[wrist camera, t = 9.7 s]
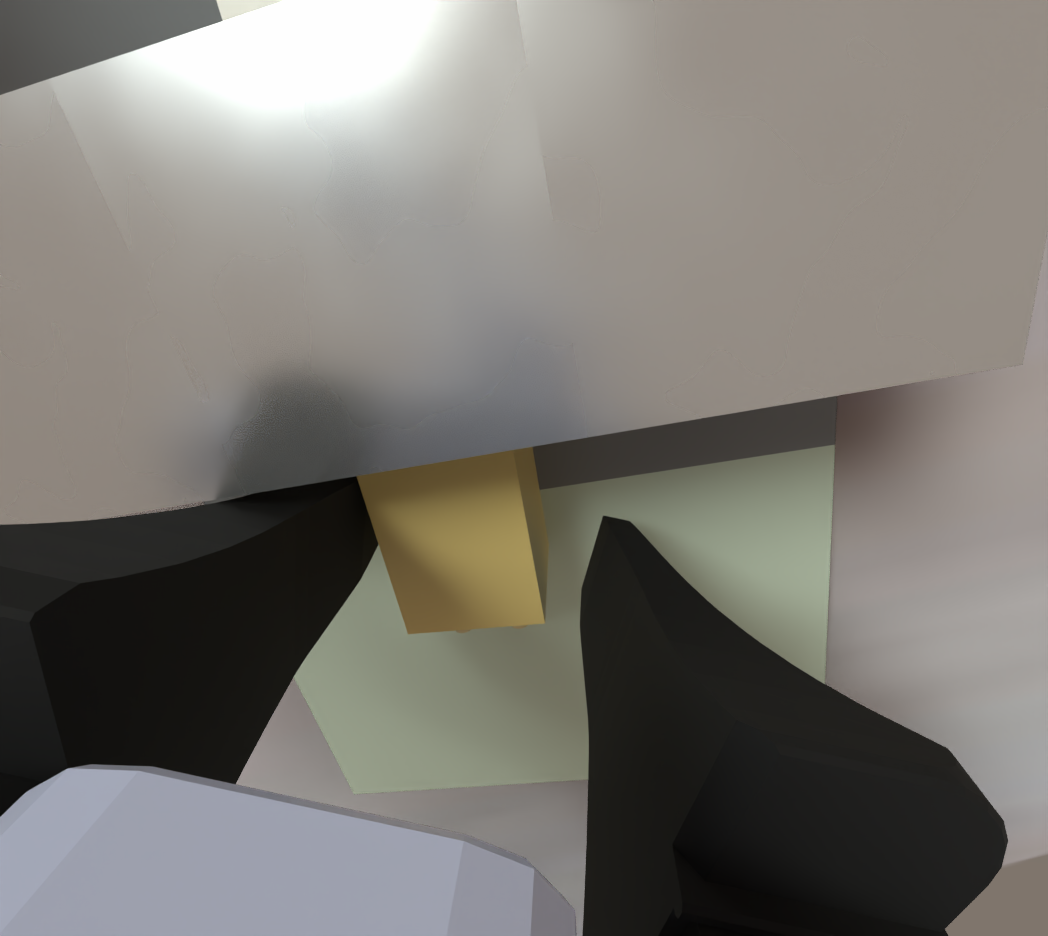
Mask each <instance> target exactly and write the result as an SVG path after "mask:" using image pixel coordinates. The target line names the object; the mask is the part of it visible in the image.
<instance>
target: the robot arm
mask: <svg viewBox="0 0 1048 936" xmlns="http://www.w3.org/2000/svg"><path fill="white" fill-rule="evenodd" d="M377 547H378V541H377V538H376V535H375V532H374V529H373V525H372V522H371V519H370V516H369V513H368V510H367V507H366V504H365V501H364V498H363V495H362V492H361V489H360V486H359V483H358V479H357V476H354V477H348V478H342V479H336V480H330V481H324V482H318V483H313V484H307V485H301V486H295V487H289V488H283V489H277V490H271V491H265V492H259V493H254V494H250V495H247V496H243V497H239V498H235V499H231V500H226V501H221V502H217V503H212V504H207V505H201V506H196V507H191V508H185V509H179V510H173V511H165V512H157V513H150V514H142V515H134V516H126V517H118V518H109V519H97V520H85V521H72V522H54V523H36V524H6V525H0V936H576V916H575V910H574V909H573V907H572V906H571V905H570V904H569V903H568V902H567V900H566V899H565V898H564V897H563V896H562V895H561V894H560V893H559V892H558V891H557V890H556V889H555V888H554V887H553V886H552V884H551V883H550V882H549V881H548V880H547V879H546V878H545V877H544V876H543V875H542V874H541V873H540V872H539V871H538V870H537V869H536V868H535V867H534V866H533V865H532V864H531V863H530V862H529V861H528V860H527V859H526V858H524V857H521V856H519V855H516V854H514V853H511V852H509V851H506V850H504V849H501V848H499V847H496V846H494V845H491V844H489V843H486V842H484V841H481V840H479V839H476V838H474V837H471V836H468V835H466V834H462V833H458V832H453V831H449V830H444V829H439V828H435V827H430V826H425V825H421V824H416V823H412V822H407V821H402V820H398V819H393V818H388V817H384V816H379V815H375V814H370V813H365V812H361V811H356V810H351V809H347V808H342V807H337V806H333V805H328V804H324V803H319V802H314V801H310V800H305V799H300V798H296V797H291V796H287V795H282V794H277V793H273V792H268V791H263V790H259V789H254V788H250V787H245V786H240V785H236V782H237V780H238V778H239V776H240V774H241V772H242V770H243V769H244V767H245V765H246V763H247V761H248V759H249V757H250V755H251V754H252V752H253V750H254V748H255V746H256V744H257V742H258V740H259V739H260V737H261V735H262V733H263V731H264V729H265V727H266V725H267V724H268V722H269V720H270V718H271V716H272V714H273V713H274V711H275V709H276V707H277V706H278V704H279V702H280V700H281V698H282V697H283V695H284V693H285V691H286V690H287V688H288V686H289V684H290V682H291V681H292V679H293V677H294V675H295V674H296V672H297V671H298V669H299V668H300V666H301V664H302V663H303V661H304V660H305V658H306V657H307V655H308V654H309V652H310V651H311V650H312V648H313V647H314V645H315V644H316V643H317V641H318V640H319V638H320V637H321V636H322V634H323V633H324V631H325V630H326V629H327V627H328V626H329V624H330V623H331V621H332V620H333V619H334V617H335V616H336V614H337V613H338V612H339V610H340V609H341V607H342V606H343V605H344V603H345V602H346V600H347V599H348V597H349V596H350V594H351V593H352V592H353V590H354V589H355V587H356V586H357V584H358V583H359V581H360V580H361V578H362V576H363V574H364V572H365V571H366V569H367V567H368V565H369V563H370V561H371V559H372V557H373V555H374V553H375V551H376V549H377ZM580 636H581V648H582V660H583V671H584V681H585V692H586V703H587V714H588V733H589V763H588V814H587V849H586V874H585V898H584V920H583V936H948V934H947V933H946V931H945V928H946V927H947V926H948V925H949V924H950V923H951V922H952V921H953V920H954V919H955V918H956V917H957V916H958V915H959V914H960V913H961V912H962V911H963V910H964V909H965V908H966V907H967V906H968V905H969V904H970V903H971V902H972V901H973V900H974V899H975V898H976V897H977V896H978V895H979V894H980V893H981V892H982V891H983V890H984V889H985V888H986V887H987V886H988V885H989V883H990V882H991V881H992V879H993V878H994V877H995V875H996V874H997V873H998V871H999V870H1000V869H1001V867H1002V863H1003V859H1004V855H1005V851H1006V847H1007V843H1008V838H1007V834H1006V829H1005V825H1004V821H1003V819H1002V818H1001V817H1000V815H999V814H998V813H997V811H996V810H995V809H994V808H993V806H992V805H991V804H990V802H989V801H988V800H987V798H986V797H985V796H984V795H983V793H982V792H981V791H980V789H979V788H978V787H977V785H976V784H975V783H974V782H973V780H972V779H971V778H970V776H969V775H968V774H967V772H966V771H965V770H964V768H963V767H962V766H961V765H960V763H959V762H958V761H957V759H956V758H955V757H954V755H953V754H952V753H951V752H950V751H949V750H948V749H947V748H946V747H944V746H942V745H940V744H938V743H936V742H934V741H932V740H930V739H928V738H926V737H924V736H922V735H920V734H918V733H916V732H914V731H912V730H910V729H908V728H906V727H904V726H902V725H900V724H898V723H896V722H894V721H892V720H890V719H888V718H886V717H884V716H882V715H880V714H878V713H876V712H874V711H872V710H870V709H868V708H866V707H864V706H862V705H860V704H859V703H857V702H855V701H853V700H852V699H850V698H848V697H846V696H845V695H843V694H841V693H839V692H838V691H836V690H834V689H832V688H831V687H829V686H827V685H825V684H824V683H822V682H820V681H819V680H817V679H815V678H814V677H812V676H810V675H809V674H807V673H806V672H804V671H802V670H801V669H799V668H797V667H796V666H794V665H793V664H791V663H790V662H788V661H787V660H785V659H784V658H782V657H781V656H779V655H778V654H776V653H775V652H774V651H772V650H771V649H769V648H768V647H766V646H765V645H763V644H762V643H760V642H759V641H758V640H756V639H755V638H753V637H752V636H751V635H749V634H748V633H747V632H745V631H744V630H743V629H741V628H740V627H739V626H738V625H736V624H735V623H734V622H733V621H731V620H730V619H729V618H728V617H726V616H725V615H724V614H723V613H721V612H720V611H719V610H718V609H717V608H715V607H714V606H713V605H712V604H711V603H710V602H709V601H707V600H706V599H705V598H704V597H703V596H702V595H701V594H700V593H699V592H698V591H697V590H696V589H695V588H694V587H692V586H691V585H690V584H689V583H688V582H687V581H686V580H685V579H684V578H683V577H682V576H681V575H680V574H679V573H678V572H677V571H676V570H675V569H674V568H673V567H672V566H671V565H670V563H669V562H668V561H667V560H666V559H665V558H664V557H663V556H662V555H661V554H660V553H659V552H658V551H657V549H656V548H655V547H654V546H653V545H652V544H651V543H650V542H649V541H648V539H647V538H646V537H645V536H644V535H643V534H642V533H641V532H640V531H639V530H638V529H637V527H636V526H635V525H634V524H632V523H631V522H630V521H627V520H623V519H618V518H613V517H609V516H604V515H603V517H602V521H601V524H600V527H599V531H598V534H597V538H596V541H595V544H594V548H593V551H592V555H591V558H590V561H589V565H588V568H587V572H586V575H585V578H584V582H583V585H582V589H581V607H580Z"/></svg>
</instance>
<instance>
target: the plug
mask: <svg viewBox="0 0 1048 936" xmlns="http://www.w3.org/2000/svg"><path fill="white" fill-rule="evenodd" d="M216 1H217V4H218V8H219V11H220V14H221V17H222V20H223V21H225V20H228V19H231V18H234V17H237V16H240V15H243V14H246V13H249V12H252V11H255V10H258V9H261V8H265V7H268V6H271V5H274V4H277V3H280V2H283V1H286V0H216ZM357 479H358V483H359V486H360V489H361V492H362V495H363V498H364V501H365V504H366V507H367V510H368V513H369V516H370V519H371V522H372V525H373V529H374V532H375V535H376V538H377V541H378V544H379V547H380V550H381V553H382V556H383V559H384V562H385V565H386V568H387V571H388V574H389V578H390V581H391V584H392V587H393V590H394V593H395V596H396V599H397V602H398V605H399V608H400V611H401V614H402V617H403V620H404V624H405V627H406V630H407V633H408V634H419V633H431V632H444V631H456V632H458V633H466V632H468V631H470V630H471V629H482V628H495V627H508V626H512V627H513V628H516V629H521V628H524V627H526V626H528V625H533V624H545V615H546V594H547V574H548V554H549V543H548V537H547V531H546V525H545V519H544V513H543V507H542V501H541V495H540V489H539V483H538V477H537V471H536V465H535V459H534V454H533V448H532V447H528V448H522V449H516V450H510V451H504V452H498V453H492V454H486V455H480V456H474V457H468V458H462V459H456V460H450V461H444V462H438V463H432V464H426V465H420V466H414V467H408V468H402V469H396V470H390V471H384V472H378V473H372V474H366V475H360V476H357Z"/></svg>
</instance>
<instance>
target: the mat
mask: <svg viewBox="0 0 1048 936" xmlns="http://www.w3.org/2000/svg"><path fill="white" fill-rule="evenodd" d="M222 21H223V20H222V17H221V14H220V11H219V8H218V4H217V1H216V0H0V95H2V94H5V93H8V92H11V91H14V90H17V89H20V88H23V87H26V86H29V85H32V84H35V83H38V82H41V81H44V80H47V79H50V78H53V77H56V76H59V75H62V74H65V73H68V72H71V71H74V70H77V69H80V68H83V67H86V66H90V65H93V64H96V63H99V62H102V61H105V60H108V59H111V58H114V57H117V56H120V55H123V54H126V53H129V52H132V51H135V50H138V49H141V48H144V47H147V46H150V45H153V44H156V43H159V42H162V41H165V40H168V39H171V38H174V37H177V36H180V35H183V34H186V33H189V32H192V31H195V30H198V29H201V28H204V27H207V26H210V25H213V24H216V23H219V22H222ZM836 412H837V396H833V397H827V398H821V399H815V400H809V401H803V402H797V403H791V404H785V405H779V406H773V407H767V408H761V409H755V410H749V411H743V412H737V413H731V414H725V415H719V416H713V417H707V418H701V419H695V420H689V421H683V422H677V423H671V424H665V425H659V426H653V427H647V428H641V429H635V430H629V431H623V432H617V433H611V434H605V435H599V436H593V437H587V438H581V439H575V440H570V441H564V442H558V443H552V444H546V445H540V446H534V447H532V448H533V454H534V459H535V465H536V471H537V477H538V483H539V489H540V495H541V501H542V507H543V513H544V519H545V525H546V531H547V537H548V543H549V554H548V574H547V594H546V615H545V624H533V625H528V626H526V627H524V628H521V629H516V628H513V627H512V626H508V627H495V628H482V629H471V630H470V631H468V632H466V633H458V632H456V631H444V632H431V633H419V634H408V633H407V630H406V627H405V624H404V620H403V617H402V614H401V611H400V608H399V605H398V602H397V599H396V596H395V593H394V590H393V587H392V584H391V581H390V578H389V574H388V571H387V568H386V565H385V562H384V559H383V556H382V553H381V550H380V547H379V544H378V547H377V549H376V551H375V553H374V555H373V557H372V559H371V561H370V563H369V565H368V567H367V569H366V571H365V572H364V574H363V576H362V578H361V580H360V581H359V583H358V584H357V586H356V587H355V589H354V590H353V592H352V593H351V594H350V596H349V597H348V599H347V600H346V602H345V603H344V605H343V606H342V607H341V609H340V610H339V612H338V613H337V614H336V616H335V617H334V619H333V620H332V621H331V623H330V624H329V626H328V627H327V629H326V630H325V631H324V633H323V634H322V636H321V637H320V638H319V640H318V641H317V643H316V644H315V645H314V647H313V648H312V650H311V651H310V652H309V654H308V655H307V657H306V658H305V660H304V661H303V663H302V664H301V666H300V668H299V669H298V671H297V672H296V674H295V675H294V679H295V681H296V683H297V685H298V687H299V689H300V691H301V692H302V694H303V696H304V698H305V700H306V702H307V704H308V706H309V708H310V710H311V712H312V714H313V716H314V718H315V720H316V722H317V724H318V725H319V727H320V729H321V731H322V733H323V735H324V737H325V739H326V741H327V743H328V745H329V747H330V749H331V751H332V753H333V755H334V757H335V758H336V760H337V762H338V764H339V766H340V768H341V770H342V772H343V774H344V776H345V778H346V780H347V782H348V784H349V786H350V788H351V790H352V791H353V793H354V794H367V793H383V792H399V791H415V790H431V789H447V788H463V787H479V786H495V785H511V784H526V783H542V782H558V781H574V780H588V763H589V733H588V714H587V703H586V692H585V681H584V671H583V660H582V648H581V636H580V607H581V589H582V585H583V582H584V578H585V575H586V572H587V568H588V565H589V561H590V558H591V555H592V551H593V548H594V544H595V541H596V538H597V534H598V531H599V527H600V524H601V521H602V517H603V515H604V516H609V517H613V518H618V519H623V520H627V521H630V522H631V523H632V524H634V525H635V526H636V527H637V529H638V530H639V531H640V532H641V533H642V534H643V535H644V536H645V537H646V538H647V539H648V541H649V542H650V543H651V544H652V545H653V546H654V547H655V548H656V549H657V551H658V552H659V553H660V554H661V555H662V556H663V557H664V558H665V559H666V560H667V561H668V562H669V563H670V565H671V566H672V567H673V568H674V569H675V570H676V571H677V572H678V573H679V574H680V575H681V576H682V577H683V578H684V579H685V580H686V581H687V582H688V583H689V584H690V585H691V586H692V587H694V588H695V589H696V590H697V591H698V592H699V593H700V594H701V595H702V596H703V597H704V598H705V599H706V600H707V601H709V602H710V603H711V604H712V605H713V606H714V607H715V608H717V609H718V610H719V611H720V612H721V613H723V614H724V615H725V616H726V617H728V618H729V619H730V620H731V621H733V622H734V623H735V624H736V625H738V626H739V627H740V628H741V629H743V630H744V631H745V632H747V633H748V634H749V635H751V636H752V637H753V638H755V639H756V640H758V641H759V642H760V643H762V644H763V645H765V646H766V647H768V648H769V649H771V650H772V651H774V652H775V653H776V654H778V655H779V656H781V657H782V658H784V659H785V660H787V661H788V662H790V663H791V664H793V665H794V666H796V667H797V668H799V669H801V670H802V671H804V672H806V673H807V674H809V675H810V676H812V677H814V678H815V679H817V680H819V681H820V682H822V683H824V684H825V668H826V645H827V621H828V598H829V575H830V551H831V528H832V505H833V482H834V458H835V435H836ZM253 494H254V493H253ZM247 495H250V494H247ZM247 495H241V496H235V497H229V498H223V499H217V500H211V501H205V502H204V504H205V505H207V504H212V503H217V502H221V501H226V500H231V499H235V498H239V497H243V496H247Z"/></svg>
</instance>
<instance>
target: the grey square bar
mask: <svg viewBox="0 0 1048 936" xmlns="http://www.w3.org/2000/svg"><path fill="white" fill-rule="evenodd" d="M1047 232H1048V0H286V1H283V2H280V3H277V4H274V5H271V6H268V7H265V8H261V9H258V10H255V11H252V12H249V13H246V14H243V15H240V16H237V17H234V18H231V19H228V20H225V21H222V22H219V23H216V24H213V25H210V26H207V27H204V28H201V29H198V30H195V31H192V32H189V33H186V34H183V35H180V36H177V37H174V38H171V39H168V40H165V41H162V42H159V43H156V44H153V45H150V46H147V47H144V48H141V49H138V50H135V51H132V52H129V53H126V54H123V55H120V56H117V57H114V58H111V59H108V60H105V61H102V62H99V63H96V64H93V65H90V66H86V67H83V68H80V69H77V70H74V71H71V72H68V73H65V74H62V75H59V76H56V77H53V78H50V79H47V80H44V81H41V82H38V83H35V84H32V85H29V86H26V87H23V88H20V89H17V90H14V91H11V92H8V93H5V94H2V95H0V525H6V524H36V523H54V522H72V521H85V520H97V519H103V518H109V517H115V516H121V515H127V514H133V513H139V512H145V511H151V510H157V509H163V508H169V507H175V506H181V505H187V504H193V503H199V502H205V501H211V500H217V499H223V498H229V497H235V496H241V495H247V494H253V493H259V492H265V491H271V490H277V489H283V488H289V487H295V486H301V485H307V484H313V483H318V482H324V481H330V480H336V479H342V478H348V477H354V476H360V475H366V474H372V473H378V472H384V471H390V470H396V469H402V468H408V467H414V466H420V465H426V464H432V463H438V462H444V461H450V460H456V459H462V458H468V457H474V456H480V455H486V454H492V453H498V452H504V451H510V450H516V449H522V448H528V447H534V446H540V445H546V444H552V443H558V442H564V441H570V440H575V439H581V438H587V437H593V436H599V435H605V434H611V433H617V432H623V431H629V430H635V429H641V428H647V427H653V426H659V425H665V424H671V423H677V422H683V421H689V420H695V419H701V418H707V417H713V416H719V415H725V414H731V413H737V412H743V411H749V410H755V409H761V408H767V407H773V406H779V405H785V404H791V403H797V402H803V401H809V400H815V399H821V398H827V397H833V396H838V395H844V394H850V393H856V392H862V391H868V390H874V389H880V388H886V387H892V386H898V385H904V384H910V383H916V382H922V381H928V380H934V379H940V378H946V377H952V376H958V375H964V374H970V373H976V372H982V371H988V370H994V369H1000V368H1006V367H1012V366H1018V365H1023V360H1024V354H1025V349H1026V344H1027V339H1028V333H1029V328H1030V323H1031V317H1032V312H1033V307H1034V301H1035V296H1036V291H1037V285H1038V280H1039V275H1040V270H1041V264H1042V259H1043V254H1044V248H1045V243H1046V238H1047Z"/></svg>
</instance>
